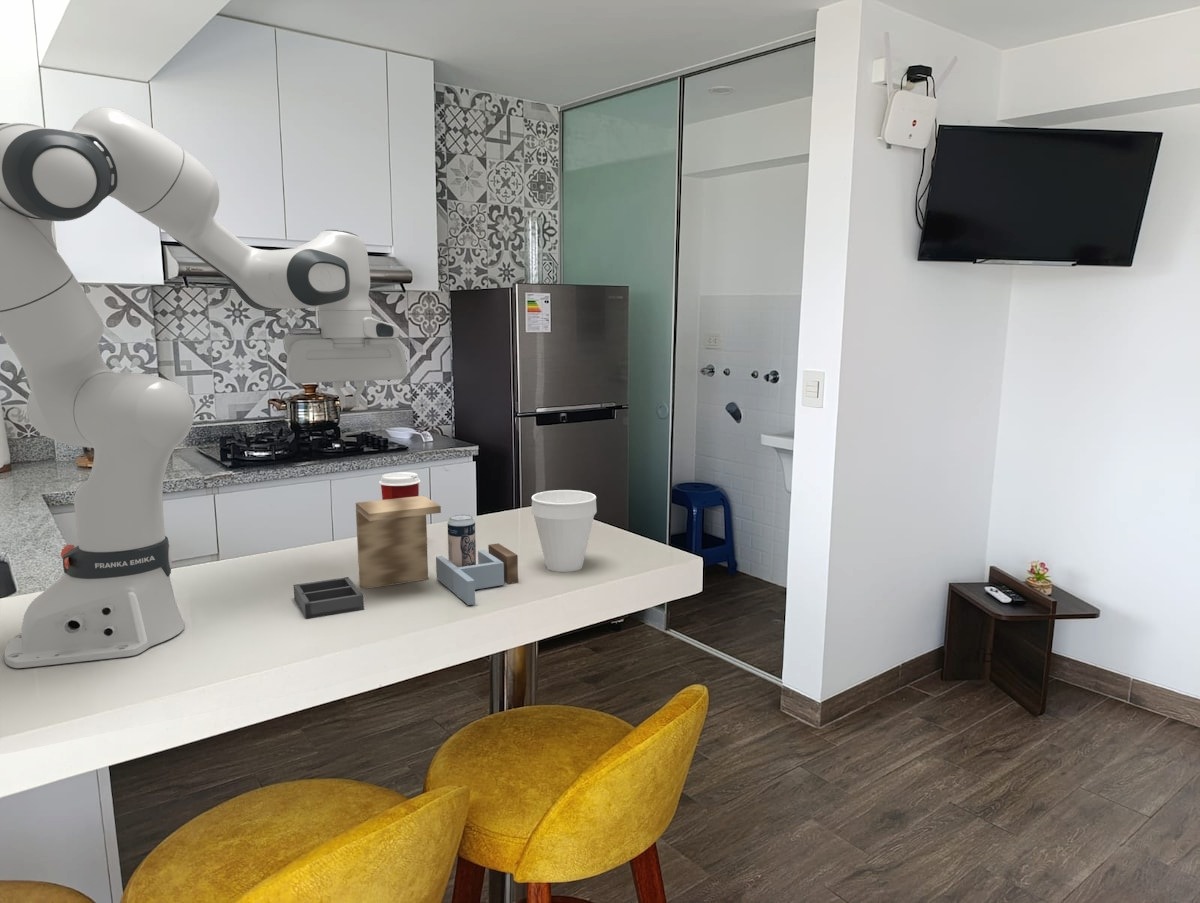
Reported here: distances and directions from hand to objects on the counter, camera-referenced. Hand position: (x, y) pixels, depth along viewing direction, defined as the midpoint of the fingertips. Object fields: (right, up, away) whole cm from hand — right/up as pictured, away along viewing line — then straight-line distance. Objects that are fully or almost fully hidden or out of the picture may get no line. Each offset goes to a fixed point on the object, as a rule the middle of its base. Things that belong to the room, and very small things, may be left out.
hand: (349, 407), depth 147 cm
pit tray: (-1, -33, -9) cm, 34 cm away
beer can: (+20, -31, +2) cm, 37 cm away
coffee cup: (+3, -28, +26) cm, 38 cm away
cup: (+37, -30, +12) cm, 49 cm away
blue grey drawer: (+23, -31, -1) cm, 39 cm away
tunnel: (+9, -32, -2) cm, 33 cm away
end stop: (+26, -31, +6) cm, 41 cm away
